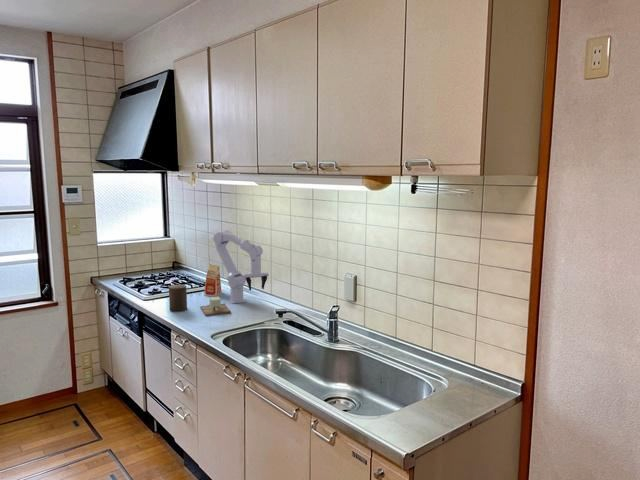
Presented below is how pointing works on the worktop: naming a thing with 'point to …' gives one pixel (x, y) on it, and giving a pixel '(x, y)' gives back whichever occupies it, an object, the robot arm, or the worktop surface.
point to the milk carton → (213, 281)
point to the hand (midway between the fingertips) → (256, 289)
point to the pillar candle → (177, 298)
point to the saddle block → (215, 303)
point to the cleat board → (209, 312)
